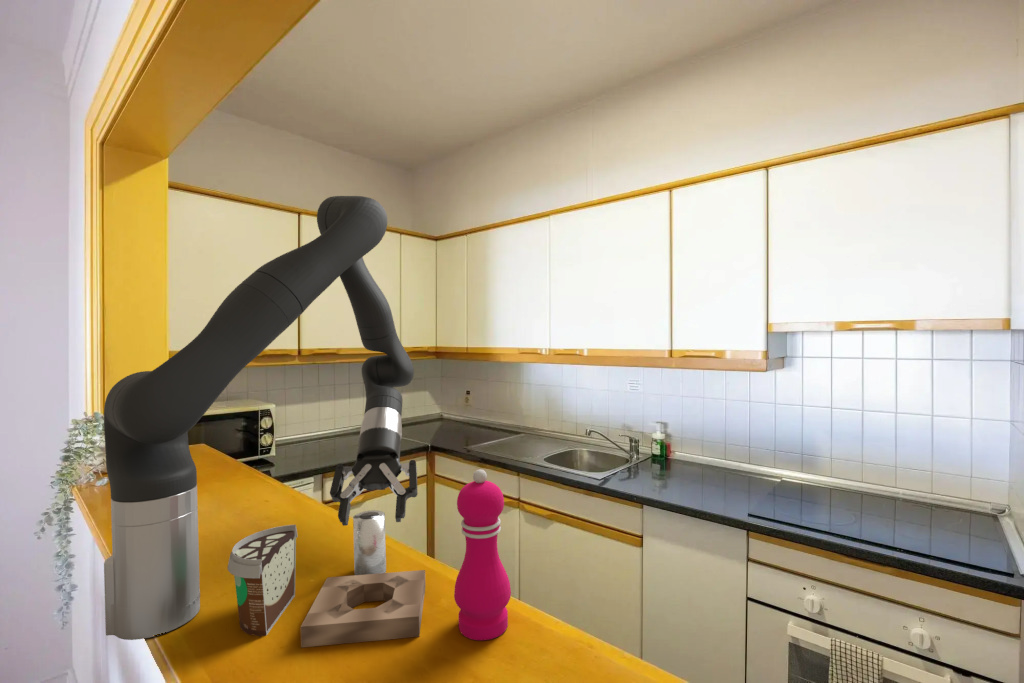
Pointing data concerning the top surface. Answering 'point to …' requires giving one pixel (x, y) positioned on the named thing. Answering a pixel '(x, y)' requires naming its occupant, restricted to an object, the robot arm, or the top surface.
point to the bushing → (369, 542)
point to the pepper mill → (481, 562)
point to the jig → (343, 624)
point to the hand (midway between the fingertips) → (371, 521)
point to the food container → (264, 577)
